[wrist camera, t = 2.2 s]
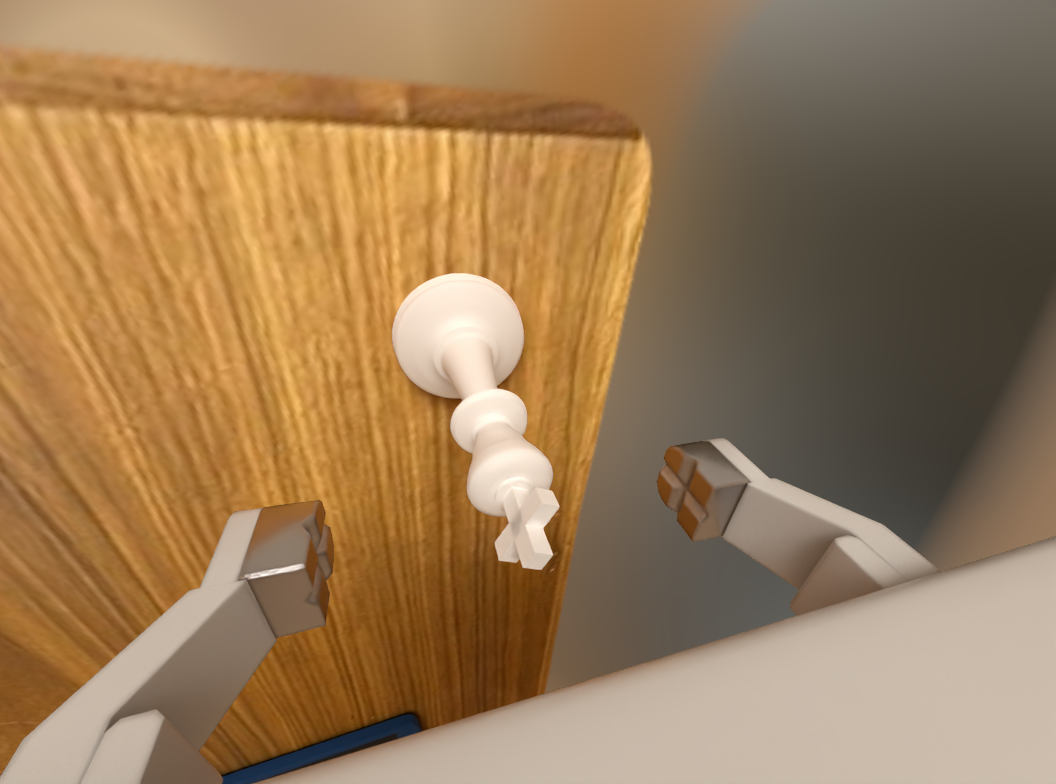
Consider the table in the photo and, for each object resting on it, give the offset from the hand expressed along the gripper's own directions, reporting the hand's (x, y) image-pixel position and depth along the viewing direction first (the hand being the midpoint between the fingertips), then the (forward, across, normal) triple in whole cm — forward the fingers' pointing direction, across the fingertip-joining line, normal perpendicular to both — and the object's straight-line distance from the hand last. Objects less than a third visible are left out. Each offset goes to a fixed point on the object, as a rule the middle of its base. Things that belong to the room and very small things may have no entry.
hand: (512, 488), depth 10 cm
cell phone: (+8, +11, +34) cm, 37 cm away
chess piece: (+8, 0, 0) cm, 8 cm away
